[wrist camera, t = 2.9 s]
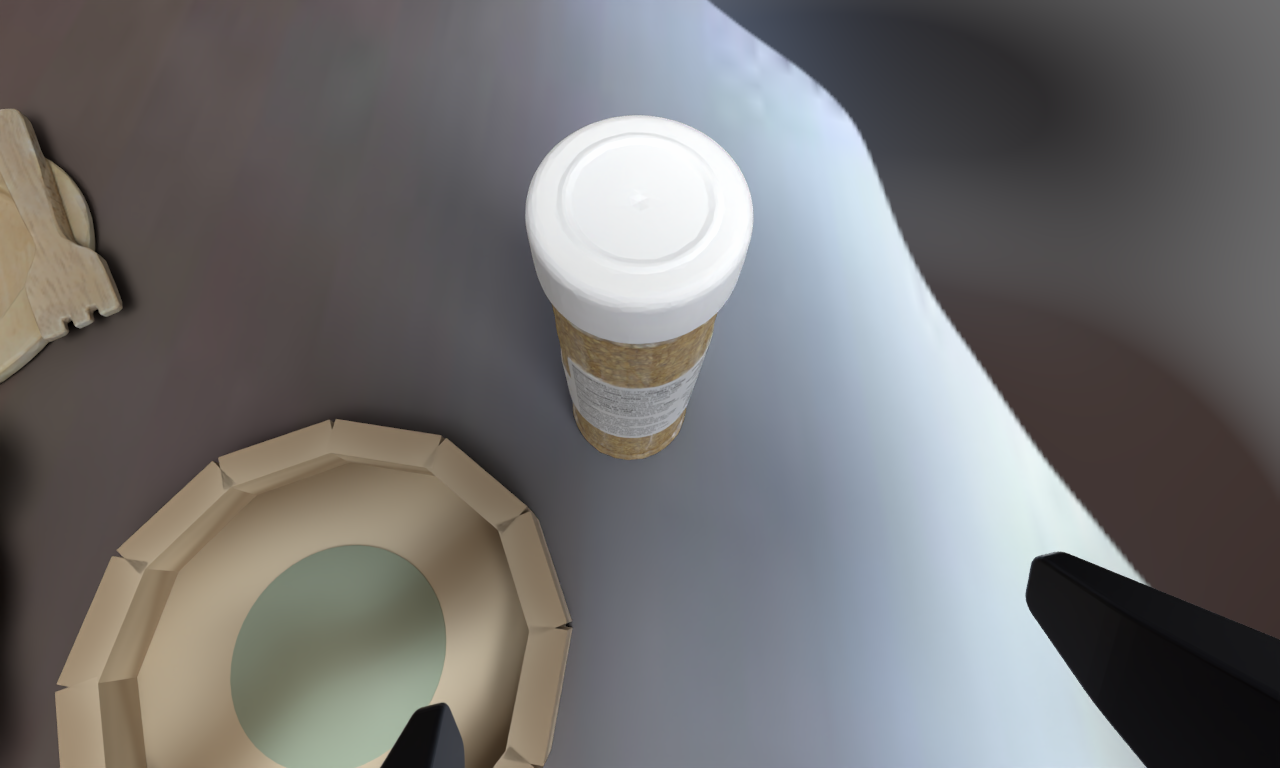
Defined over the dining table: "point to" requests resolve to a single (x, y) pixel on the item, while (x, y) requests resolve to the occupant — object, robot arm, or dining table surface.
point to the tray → (321, 614)
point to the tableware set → (43, 250)
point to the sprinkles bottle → (636, 269)
